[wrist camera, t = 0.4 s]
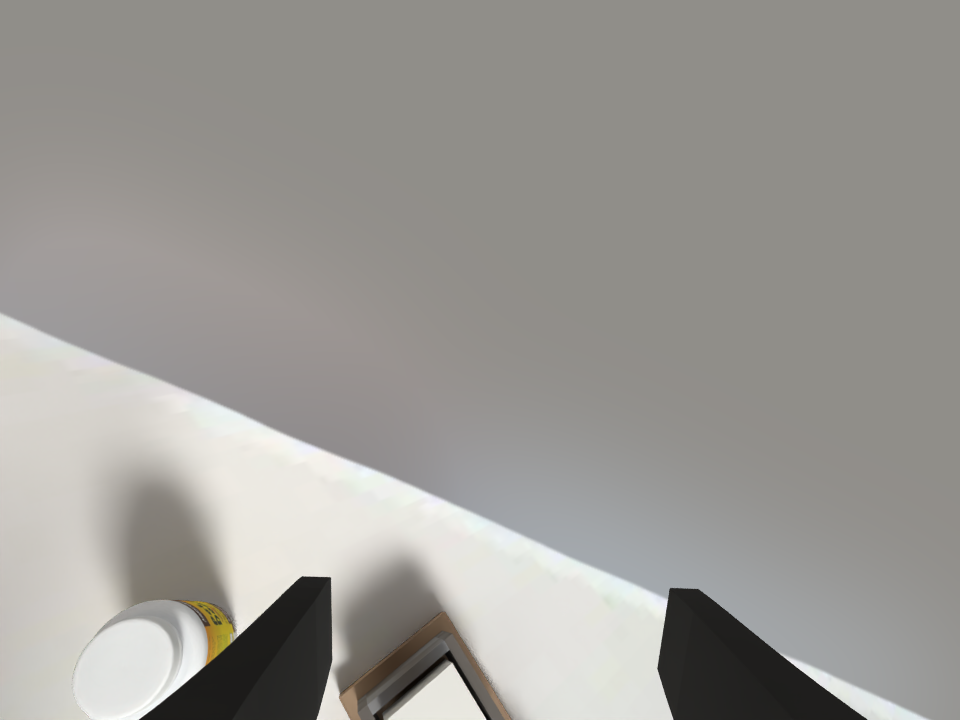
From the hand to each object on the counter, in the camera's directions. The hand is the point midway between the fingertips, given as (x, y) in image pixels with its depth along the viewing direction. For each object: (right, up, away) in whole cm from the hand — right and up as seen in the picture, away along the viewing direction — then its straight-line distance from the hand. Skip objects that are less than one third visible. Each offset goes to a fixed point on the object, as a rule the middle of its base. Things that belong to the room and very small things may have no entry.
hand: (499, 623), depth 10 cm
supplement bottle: (-19, -13, +21) cm, 31 cm away
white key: (-3, -15, +18) cm, 24 cm away
